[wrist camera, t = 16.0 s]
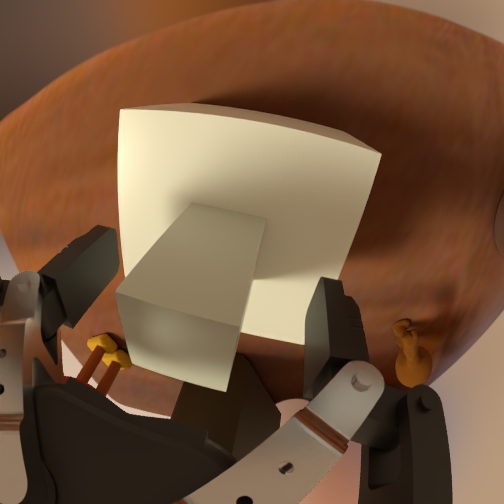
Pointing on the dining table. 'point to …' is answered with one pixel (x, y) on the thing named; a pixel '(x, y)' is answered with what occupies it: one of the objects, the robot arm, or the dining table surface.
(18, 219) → the dining table surface
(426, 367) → the toy figurine
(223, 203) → the cover
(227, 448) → the bottle
